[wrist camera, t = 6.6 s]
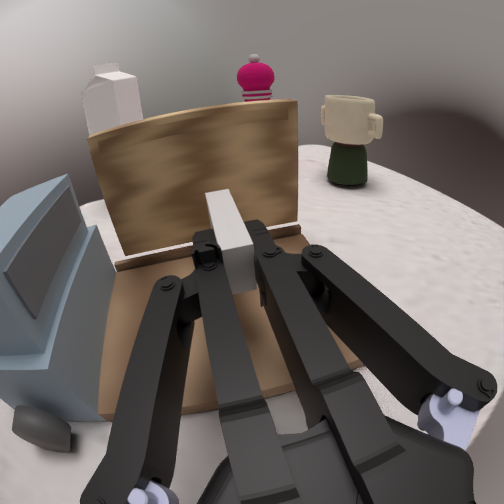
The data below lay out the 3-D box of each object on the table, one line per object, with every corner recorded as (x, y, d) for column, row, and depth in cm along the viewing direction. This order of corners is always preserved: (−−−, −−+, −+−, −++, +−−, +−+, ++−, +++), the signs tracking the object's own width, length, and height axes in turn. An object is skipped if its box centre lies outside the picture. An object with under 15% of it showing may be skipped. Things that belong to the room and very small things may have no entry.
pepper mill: (288, 168, 45) (282, 51, 33) (246, 174, 44) (235, 53, 32) (275, 157, 51) (269, 55, 39) (238, 162, 50) (228, 57, 38)
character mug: (388, 188, 37) (396, 103, 29) (361, 200, 34) (368, 102, 26) (335, 167, 45) (336, 93, 37) (305, 176, 42) (304, 94, 34)
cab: (21, 445, 10) (-97, 340, 3) (62, 280, 25) (19, 185, 18) (107, 455, 11) (-42, 336, 4) (123, 266, 26) (86, 159, 19)
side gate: (125, 256, 23) (86, 138, 16) (127, 245, 24) (92, 133, 18) (297, 221, 25) (297, 101, 19) (291, 212, 27) (289, 98, 20)
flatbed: (106, 421, 13) (92, 409, 12) (121, 276, 25) (115, 262, 24) (377, 359, 16) (385, 343, 15) (298, 239, 28) (299, 224, 27)
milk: (158, 191, 42) (135, 57, 29) (140, 209, 37) (111, 57, 24) (128, 193, 43) (103, 68, 30) (108, 210, 38) (78, 71, 25)
